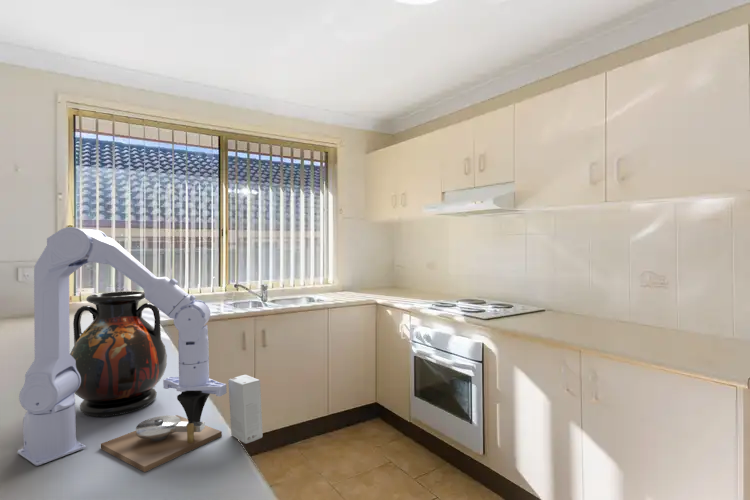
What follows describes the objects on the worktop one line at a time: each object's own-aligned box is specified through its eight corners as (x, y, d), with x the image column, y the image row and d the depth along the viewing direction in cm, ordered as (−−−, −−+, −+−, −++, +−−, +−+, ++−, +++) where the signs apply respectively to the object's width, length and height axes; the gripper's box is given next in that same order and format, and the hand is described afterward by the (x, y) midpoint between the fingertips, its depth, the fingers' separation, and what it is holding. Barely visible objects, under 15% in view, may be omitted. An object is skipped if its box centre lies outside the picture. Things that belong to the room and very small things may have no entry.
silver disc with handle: (127, 438, 80) (126, 429, 80) (151, 420, 88) (150, 412, 88) (192, 439, 80) (192, 429, 80) (211, 421, 88) (211, 412, 88)
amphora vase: (48, 429, 91) (45, 301, 91) (87, 394, 112) (85, 291, 112) (157, 417, 97) (154, 297, 96) (175, 386, 118) (173, 287, 117)
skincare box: (263, 437, 86) (262, 379, 86) (243, 445, 83) (242, 384, 83) (248, 428, 90) (247, 373, 90) (228, 435, 87) (227, 378, 87)
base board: (100, 448, 82) (100, 426, 82) (176, 419, 96) (176, 399, 95) (144, 472, 73) (144, 446, 73) (221, 436, 87) (221, 414, 87)
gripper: (150, 362, 84) (152, 428, 85) (208, 369, 80) (210, 439, 80) (177, 353, 91) (178, 414, 92) (232, 359, 86) (233, 424, 87)
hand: (195, 425), depth 86 cm, fingers closed, pressing on silver disc with handle
